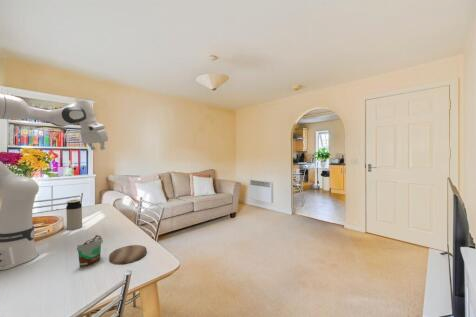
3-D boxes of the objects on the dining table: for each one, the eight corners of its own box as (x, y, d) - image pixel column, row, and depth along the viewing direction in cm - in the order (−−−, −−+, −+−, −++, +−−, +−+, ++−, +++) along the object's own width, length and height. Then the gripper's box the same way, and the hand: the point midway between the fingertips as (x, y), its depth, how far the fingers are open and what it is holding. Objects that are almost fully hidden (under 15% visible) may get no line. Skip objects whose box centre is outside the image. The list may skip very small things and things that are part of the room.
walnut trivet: (106, 267, 94) (106, 263, 94) (111, 251, 108) (111, 248, 108) (146, 259, 100) (146, 256, 100) (146, 245, 115) (146, 242, 115)
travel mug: (74, 230, 137) (73, 202, 137) (63, 229, 139) (62, 201, 138) (85, 226, 145) (84, 199, 144) (75, 225, 147) (74, 198, 146)
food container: (91, 269, 92) (90, 245, 92) (77, 268, 93) (76, 245, 92) (109, 255, 105) (108, 234, 104) (96, 254, 105) (96, 234, 105)
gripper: (74, 129, 130) (83, 151, 134) (95, 127, 121) (103, 150, 125) (85, 127, 135) (93, 148, 139) (105, 124, 126) (113, 147, 130)
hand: (98, 149), depth 132 cm, fingers open, 8 cm apart
